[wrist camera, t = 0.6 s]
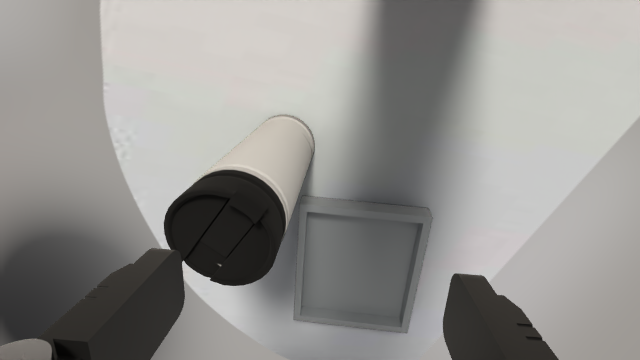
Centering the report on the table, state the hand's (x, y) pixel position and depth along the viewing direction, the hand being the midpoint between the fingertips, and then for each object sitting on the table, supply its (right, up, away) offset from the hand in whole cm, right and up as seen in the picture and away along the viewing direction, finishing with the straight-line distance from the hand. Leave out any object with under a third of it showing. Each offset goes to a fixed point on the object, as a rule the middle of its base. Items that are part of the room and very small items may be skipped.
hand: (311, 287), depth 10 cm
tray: (+5, -7, +30) cm, 31 cm away
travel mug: (-3, +7, +26) cm, 27 cm away
